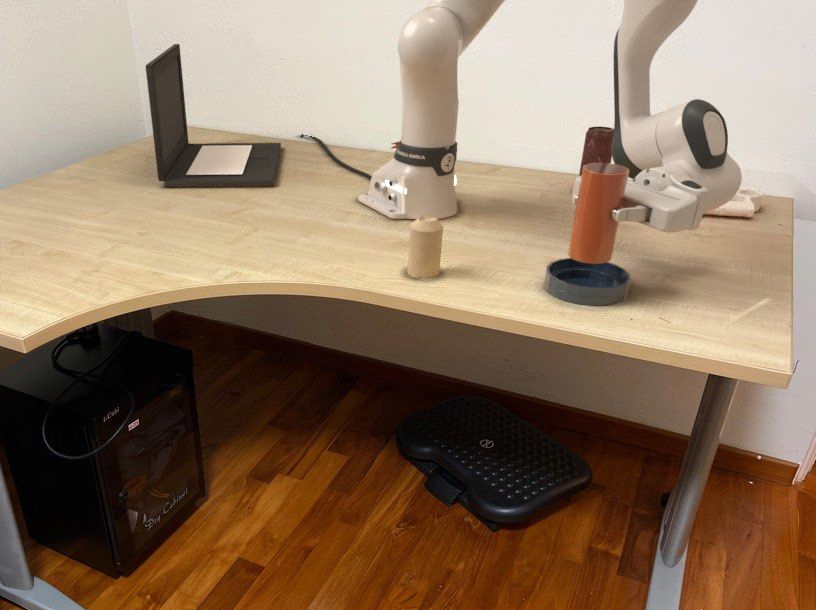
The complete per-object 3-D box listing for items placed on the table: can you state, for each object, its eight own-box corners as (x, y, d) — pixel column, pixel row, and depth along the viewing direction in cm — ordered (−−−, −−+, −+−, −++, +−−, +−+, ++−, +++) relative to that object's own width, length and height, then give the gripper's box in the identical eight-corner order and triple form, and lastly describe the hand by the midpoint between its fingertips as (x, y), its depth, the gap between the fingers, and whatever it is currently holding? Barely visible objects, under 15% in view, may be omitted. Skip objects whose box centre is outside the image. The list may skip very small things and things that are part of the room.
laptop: (273, 187, 178) (268, 63, 164) (158, 187, 178) (144, 65, 165) (281, 148, 210) (277, 42, 196) (183, 149, 210) (173, 43, 197)
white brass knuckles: (673, 215, 157) (663, 195, 169) (769, 222, 153) (751, 200, 165) (677, 200, 155) (666, 180, 168) (774, 205, 152) (756, 185, 164)
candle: (404, 268, 134) (407, 213, 129) (435, 267, 134) (439, 211, 129) (410, 280, 129) (414, 223, 124) (442, 279, 130) (447, 222, 125)
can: (607, 197, 169) (620, 132, 161) (577, 195, 170) (588, 131, 163) (604, 189, 174) (616, 126, 167) (575, 188, 175) (585, 125, 168)
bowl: (527, 289, 126) (530, 270, 124) (574, 270, 132) (578, 252, 131) (595, 315, 117) (599, 295, 115) (642, 294, 124) (646, 274, 122)
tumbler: (559, 255, 122) (574, 167, 115) (584, 245, 126) (599, 160, 118) (595, 267, 118) (612, 176, 111) (619, 257, 121) (638, 169, 114)
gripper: (612, 160, 129) (550, 171, 124) (717, 192, 113) (651, 206, 108) (605, 197, 132) (544, 209, 127) (706, 232, 117) (642, 248, 111)
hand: (594, 208), depth 117 cm, fingers closed on tumbler, 6 cm apart
